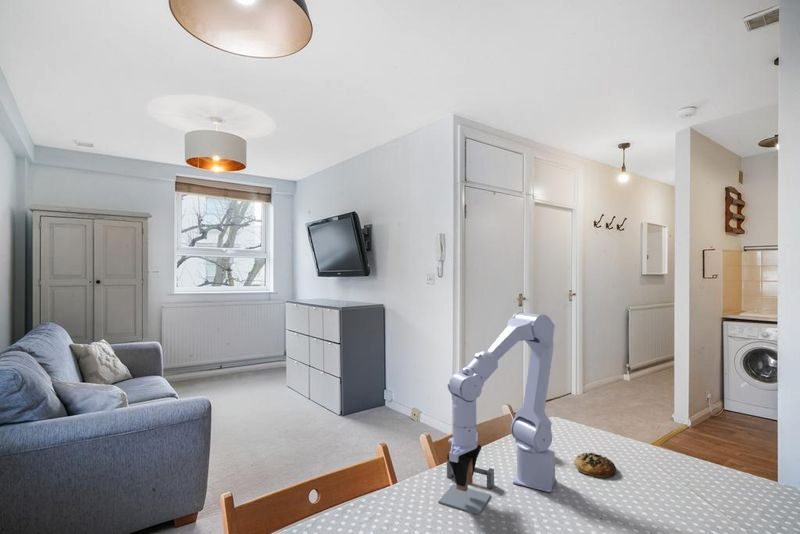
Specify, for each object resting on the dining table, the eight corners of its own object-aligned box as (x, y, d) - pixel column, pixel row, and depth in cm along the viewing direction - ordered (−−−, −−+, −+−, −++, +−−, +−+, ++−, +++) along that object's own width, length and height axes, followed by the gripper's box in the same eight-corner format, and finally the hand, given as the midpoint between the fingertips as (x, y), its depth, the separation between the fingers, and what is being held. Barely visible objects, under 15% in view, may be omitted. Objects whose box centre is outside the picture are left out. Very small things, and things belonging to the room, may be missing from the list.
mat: (490, 496, 100) (490, 494, 100) (478, 515, 92) (478, 513, 92) (453, 485, 105) (453, 484, 105) (438, 502, 97) (438, 501, 97)
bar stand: (494, 484, 105) (494, 469, 106) (491, 489, 103) (491, 473, 103) (450, 473, 112) (450, 458, 112) (447, 477, 109) (446, 462, 110)
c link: (472, 483, 100) (472, 458, 100) (465, 491, 96) (465, 466, 96) (463, 480, 101) (463, 456, 101) (456, 489, 97) (456, 463, 97)
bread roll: (626, 475, 110) (623, 457, 110) (591, 486, 107) (588, 467, 107) (597, 459, 121) (595, 442, 121) (565, 468, 118) (562, 451, 118)
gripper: (460, 412, 107) (460, 464, 107) (436, 430, 95) (437, 489, 94) (486, 416, 104) (486, 470, 103) (465, 436, 91) (465, 497, 91)
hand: (464, 480), depth 99 cm, fingers closed on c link, 5 cm apart
